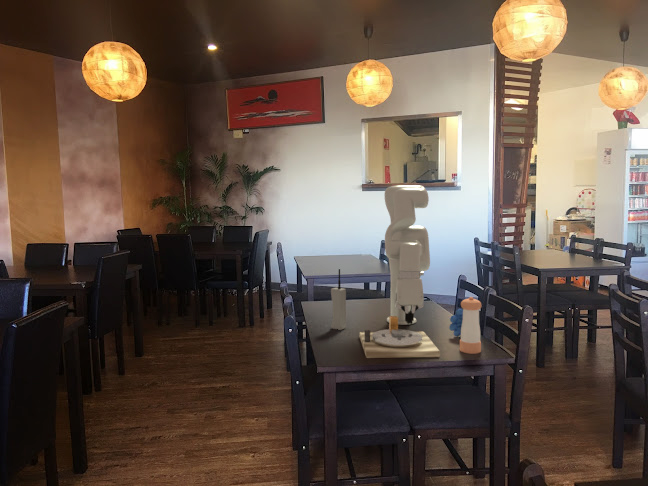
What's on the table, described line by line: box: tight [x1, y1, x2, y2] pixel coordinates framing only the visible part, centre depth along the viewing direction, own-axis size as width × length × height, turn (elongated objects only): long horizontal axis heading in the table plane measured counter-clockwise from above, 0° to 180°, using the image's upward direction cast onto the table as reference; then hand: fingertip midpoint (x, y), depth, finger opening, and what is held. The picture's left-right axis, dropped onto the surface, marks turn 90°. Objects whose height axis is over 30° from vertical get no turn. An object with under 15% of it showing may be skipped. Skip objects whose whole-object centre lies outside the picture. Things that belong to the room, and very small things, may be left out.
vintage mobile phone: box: [330, 268, 347, 331], centre depth 208 cm, size 4×5×25 cm
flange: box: [372, 315, 422, 347], centre depth 184 cm, size 18×18×6 cm
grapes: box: [448, 308, 480, 337], centre depth 196 cm, size 12×7×12 cm, turn 90°
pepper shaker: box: [459, 296, 483, 355], centre depth 178 cm, size 7×7×19 cm
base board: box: [359, 329, 441, 359], centre depth 184 cm, size 25×25×6 cm
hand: (409, 322), depth 191 cm, fingers closed
